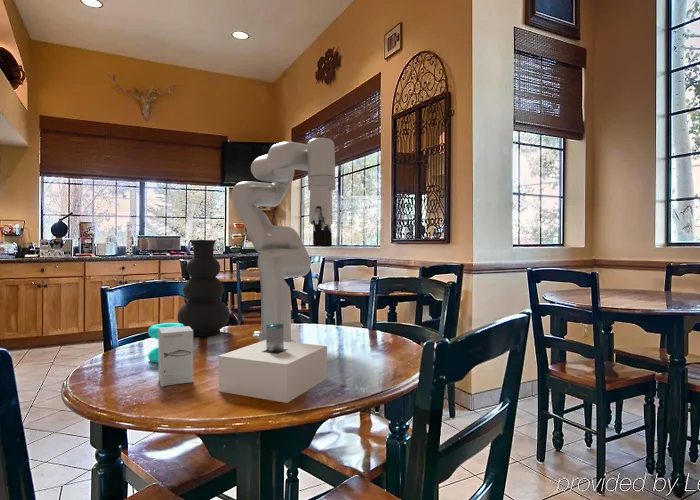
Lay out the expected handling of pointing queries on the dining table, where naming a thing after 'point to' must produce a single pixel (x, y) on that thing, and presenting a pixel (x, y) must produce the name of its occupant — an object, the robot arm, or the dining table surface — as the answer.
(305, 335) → the dining table surface
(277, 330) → the peg
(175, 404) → the dining table surface
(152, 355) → the donuts
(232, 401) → the dining table surface
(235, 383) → the block
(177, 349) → the supplement box
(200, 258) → the vase
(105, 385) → the dining table surface
